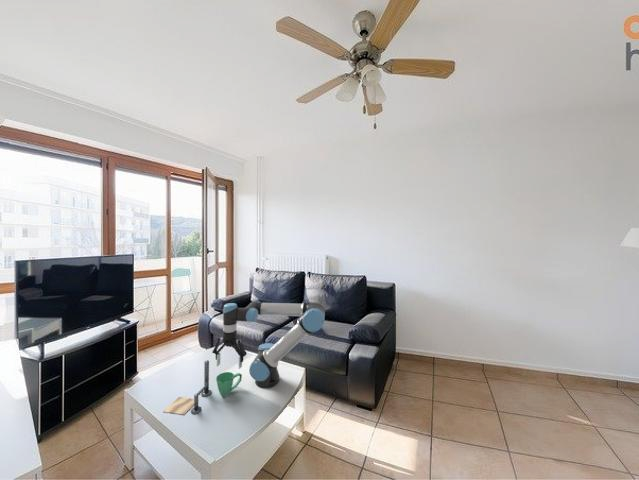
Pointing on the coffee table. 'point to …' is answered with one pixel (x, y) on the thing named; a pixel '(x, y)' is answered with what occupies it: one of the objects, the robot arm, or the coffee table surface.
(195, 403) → the metal wall bracket
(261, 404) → the coffee table surface
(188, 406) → the coaster
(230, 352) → the coffee table surface
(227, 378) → the mug
